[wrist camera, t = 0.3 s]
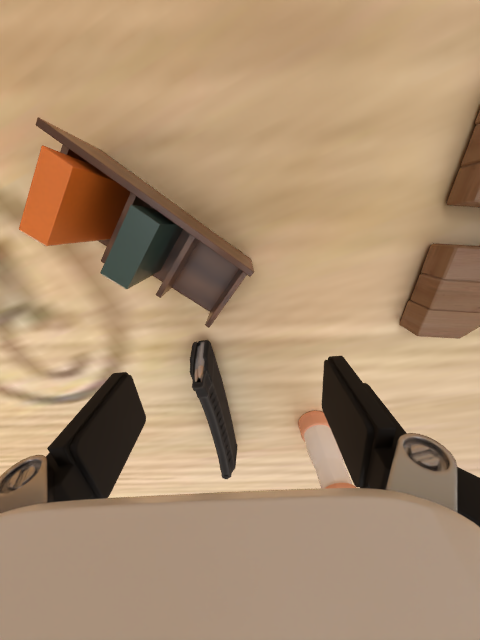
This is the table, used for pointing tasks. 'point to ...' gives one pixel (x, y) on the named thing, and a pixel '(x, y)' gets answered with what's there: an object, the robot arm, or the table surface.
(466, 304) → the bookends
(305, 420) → the pepper shaker
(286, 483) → the table surface
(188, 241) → the book rack
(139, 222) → the green book
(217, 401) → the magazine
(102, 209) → the orange book
